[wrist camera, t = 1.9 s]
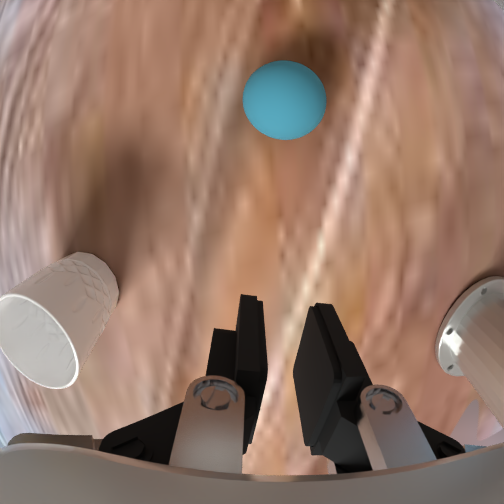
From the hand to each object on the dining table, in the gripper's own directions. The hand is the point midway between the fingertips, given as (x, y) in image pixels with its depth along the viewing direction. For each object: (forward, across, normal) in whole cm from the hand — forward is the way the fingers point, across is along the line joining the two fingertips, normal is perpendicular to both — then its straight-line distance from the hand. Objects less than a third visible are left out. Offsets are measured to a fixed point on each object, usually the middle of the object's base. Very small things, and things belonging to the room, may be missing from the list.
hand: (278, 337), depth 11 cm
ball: (+12, 0, -10) cm, 16 cm away
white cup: (+15, +15, +8) cm, 23 cm away
